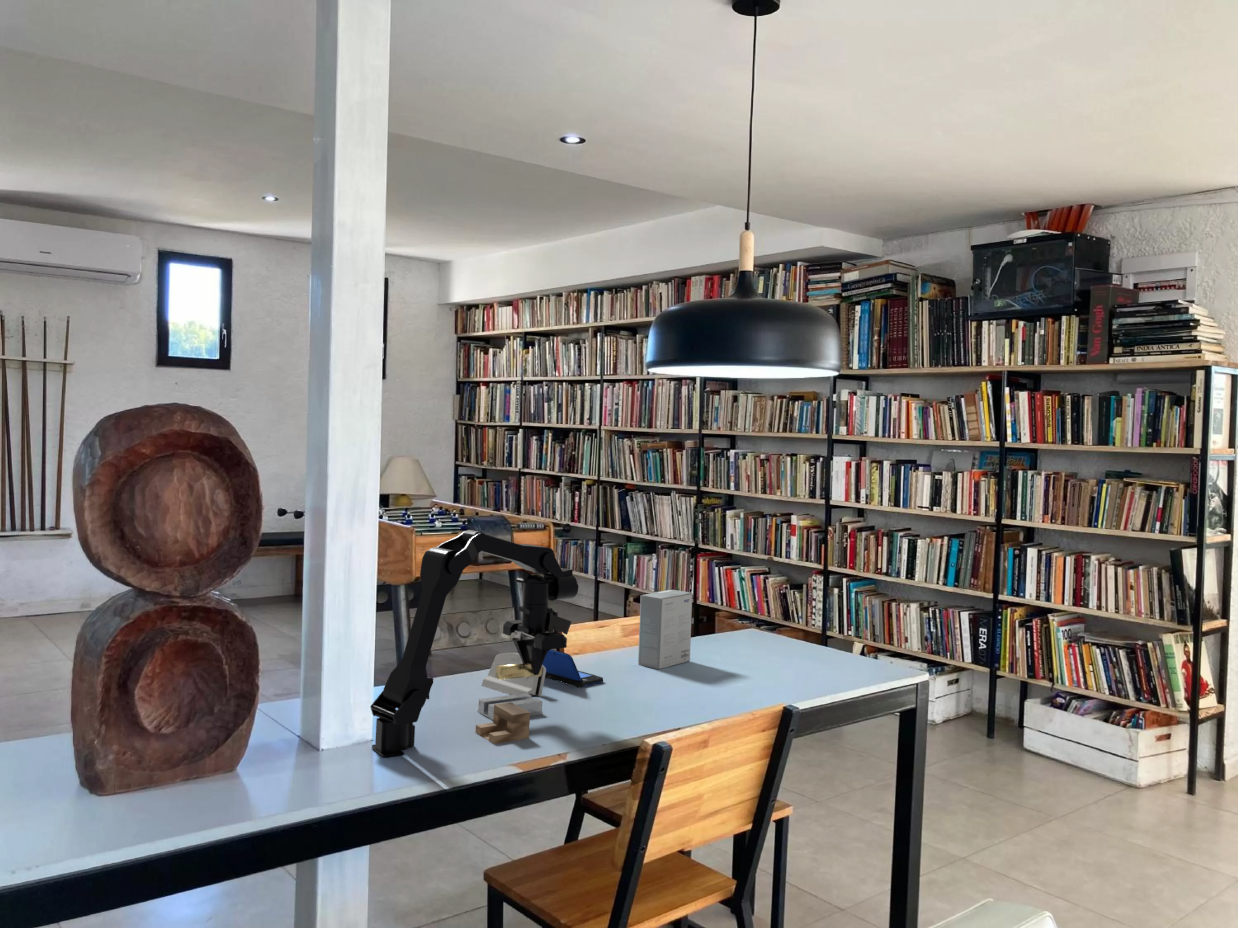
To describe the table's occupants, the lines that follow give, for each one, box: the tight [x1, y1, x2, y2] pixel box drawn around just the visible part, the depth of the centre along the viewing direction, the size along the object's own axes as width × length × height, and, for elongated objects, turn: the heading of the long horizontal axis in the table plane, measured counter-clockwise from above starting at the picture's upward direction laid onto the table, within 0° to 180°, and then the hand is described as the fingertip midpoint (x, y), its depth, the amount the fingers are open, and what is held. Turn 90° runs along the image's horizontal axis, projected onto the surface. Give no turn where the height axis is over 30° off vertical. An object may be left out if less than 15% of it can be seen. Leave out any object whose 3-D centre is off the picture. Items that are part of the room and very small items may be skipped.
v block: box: [477, 693, 544, 721], centre depth 204 cm, size 12×8×4 cm, turn 125°
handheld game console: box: [542, 649, 604, 688], centre depth 238 cm, size 16×13×9 cm
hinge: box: [481, 652, 546, 697], centre depth 226 cm, size 17×5×10 cm, turn 49°
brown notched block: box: [475, 702, 531, 745], centre depth 189 cm, size 8×8×6 cm
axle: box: [495, 663, 542, 680], centre depth 202 cm, size 10×3×3 cm, turn 124°
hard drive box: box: [637, 589, 693, 670], centre depth 263 cm, size 16×8×20 cm, turn 141°
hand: (532, 672), depth 203 cm, fingers closed on axle, 3 cm apart
